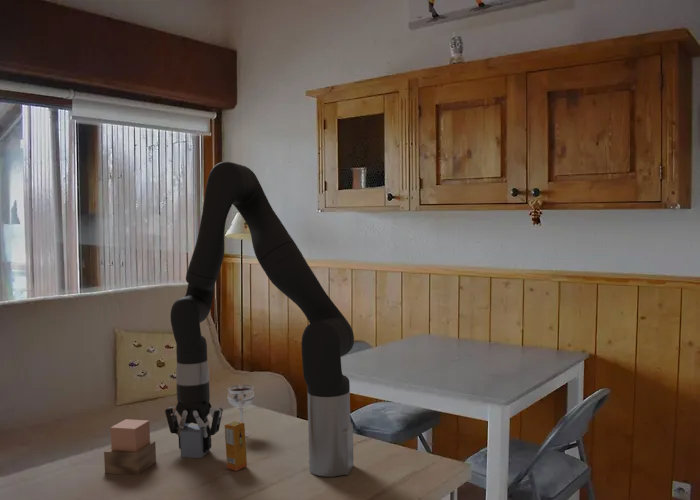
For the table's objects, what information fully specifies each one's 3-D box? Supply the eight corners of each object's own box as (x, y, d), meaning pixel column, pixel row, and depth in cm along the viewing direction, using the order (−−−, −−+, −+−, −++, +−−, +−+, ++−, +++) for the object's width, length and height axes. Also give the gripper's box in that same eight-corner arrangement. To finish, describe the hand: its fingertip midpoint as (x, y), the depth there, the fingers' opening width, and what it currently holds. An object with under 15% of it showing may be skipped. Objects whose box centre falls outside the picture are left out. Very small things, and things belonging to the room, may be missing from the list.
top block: (150, 442, 150) (149, 420, 150) (135, 451, 144) (134, 428, 144) (126, 440, 152) (125, 419, 151) (111, 449, 146) (110, 427, 146)
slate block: (209, 450, 158) (208, 425, 157) (200, 458, 153) (199, 432, 152) (190, 449, 159) (189, 425, 158) (180, 456, 154) (179, 431, 153)
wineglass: (223, 436, 167) (222, 390, 167) (237, 428, 173) (235, 383, 173) (247, 439, 165) (245, 392, 164) (259, 431, 171) (258, 385, 171)
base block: (156, 462, 151) (155, 441, 151) (138, 476, 143) (137, 453, 143) (124, 460, 153) (123, 439, 152) (104, 474, 145) (104, 451, 145)
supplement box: (236, 463, 149) (235, 420, 148) (247, 467, 146) (246, 422, 146) (225, 468, 146) (224, 423, 145) (236, 471, 144) (234, 426, 143)
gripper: (227, 377, 157) (229, 447, 158) (172, 375, 160) (174, 444, 161) (215, 385, 150) (217, 458, 151) (157, 383, 153) (159, 455, 153)
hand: (195, 450), depth 156 cm, fingers closed on slate block, 5 cm apart
